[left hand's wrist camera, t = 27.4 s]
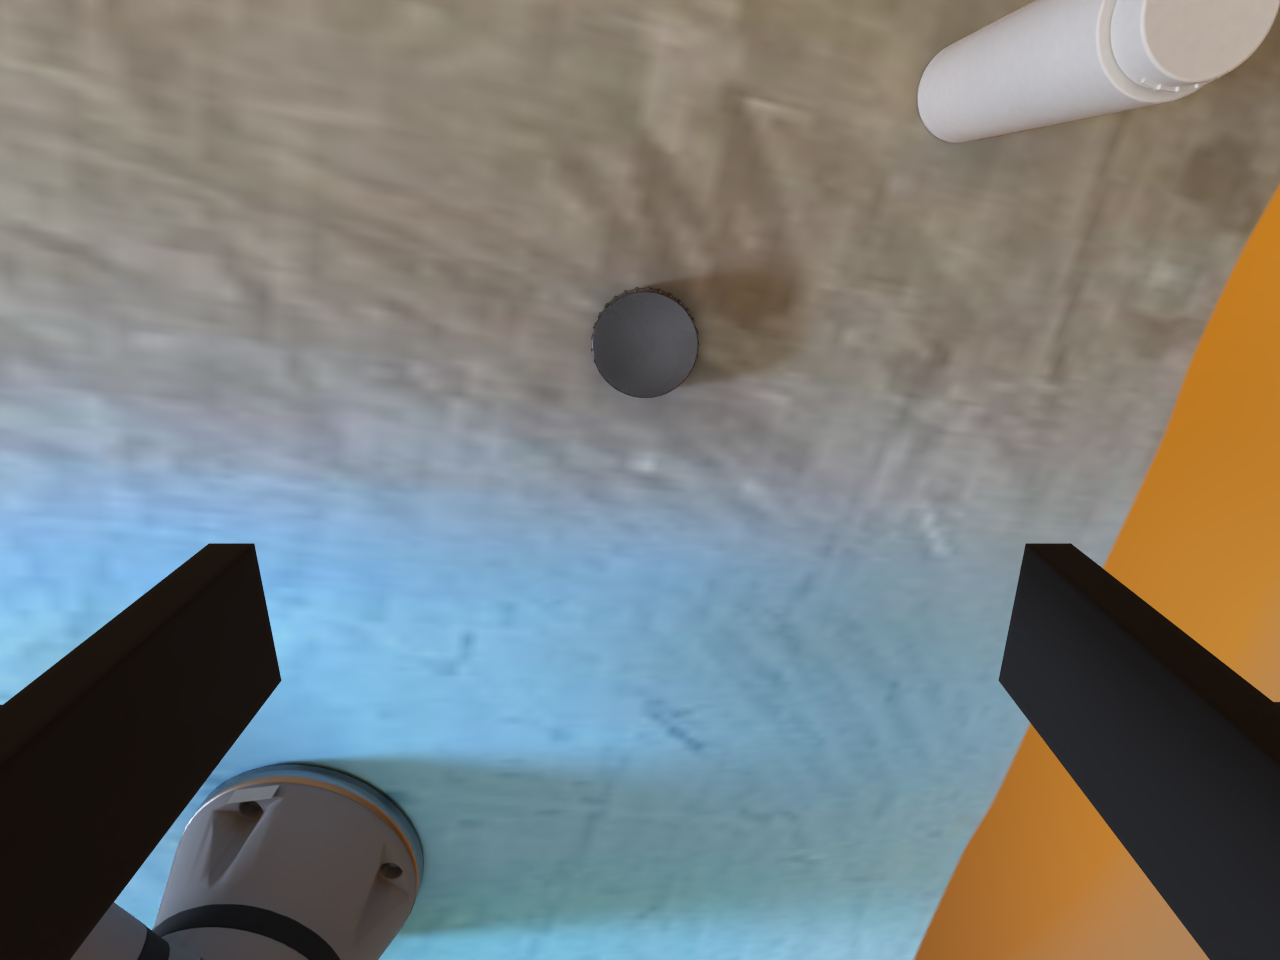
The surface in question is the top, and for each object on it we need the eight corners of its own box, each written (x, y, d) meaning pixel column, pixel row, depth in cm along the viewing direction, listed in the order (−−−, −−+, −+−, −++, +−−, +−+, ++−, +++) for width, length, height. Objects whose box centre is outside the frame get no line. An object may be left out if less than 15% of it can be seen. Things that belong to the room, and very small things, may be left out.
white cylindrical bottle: (996, 147, 35) (1260, 104, 20) (907, 137, 35) (1107, 86, 20) (1021, 45, 33) (1325, -83, 19) (929, 34, 33) (1161, -104, 18)
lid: (622, 266, 37) (621, 269, 35) (716, 318, 37) (720, 323, 36) (574, 361, 38) (571, 368, 37) (665, 409, 39) (667, 417, 38)
